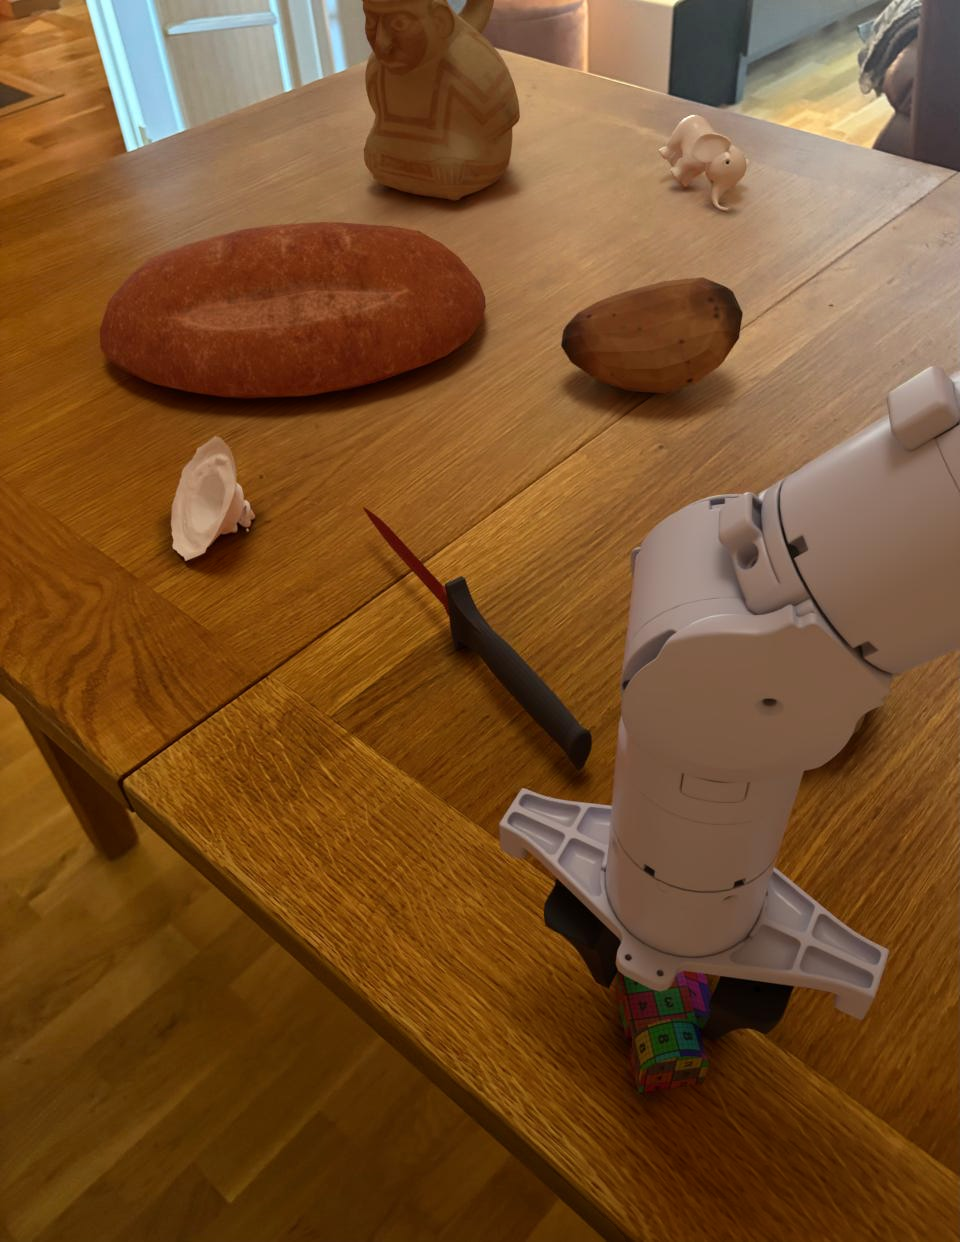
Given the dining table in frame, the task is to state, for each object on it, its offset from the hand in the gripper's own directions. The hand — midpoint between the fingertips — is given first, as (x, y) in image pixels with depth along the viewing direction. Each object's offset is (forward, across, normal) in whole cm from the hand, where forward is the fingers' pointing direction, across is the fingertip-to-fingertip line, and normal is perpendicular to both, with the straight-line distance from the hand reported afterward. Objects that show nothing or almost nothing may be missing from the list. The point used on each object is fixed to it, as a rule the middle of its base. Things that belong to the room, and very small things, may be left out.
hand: (662, 991), depth 44 cm
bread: (+2, -49, +39) cm, 63 cm away
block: (+2, 0, 0) cm, 2 cm away
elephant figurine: (+2, -28, +80) cm, 85 cm away
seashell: (+2, -39, +16) cm, 42 cm away
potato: (+2, -20, +45) cm, 49 cm away
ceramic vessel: (+2, -54, +72) cm, 90 cm away
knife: (+2, -19, +15) cm, 24 cm away
